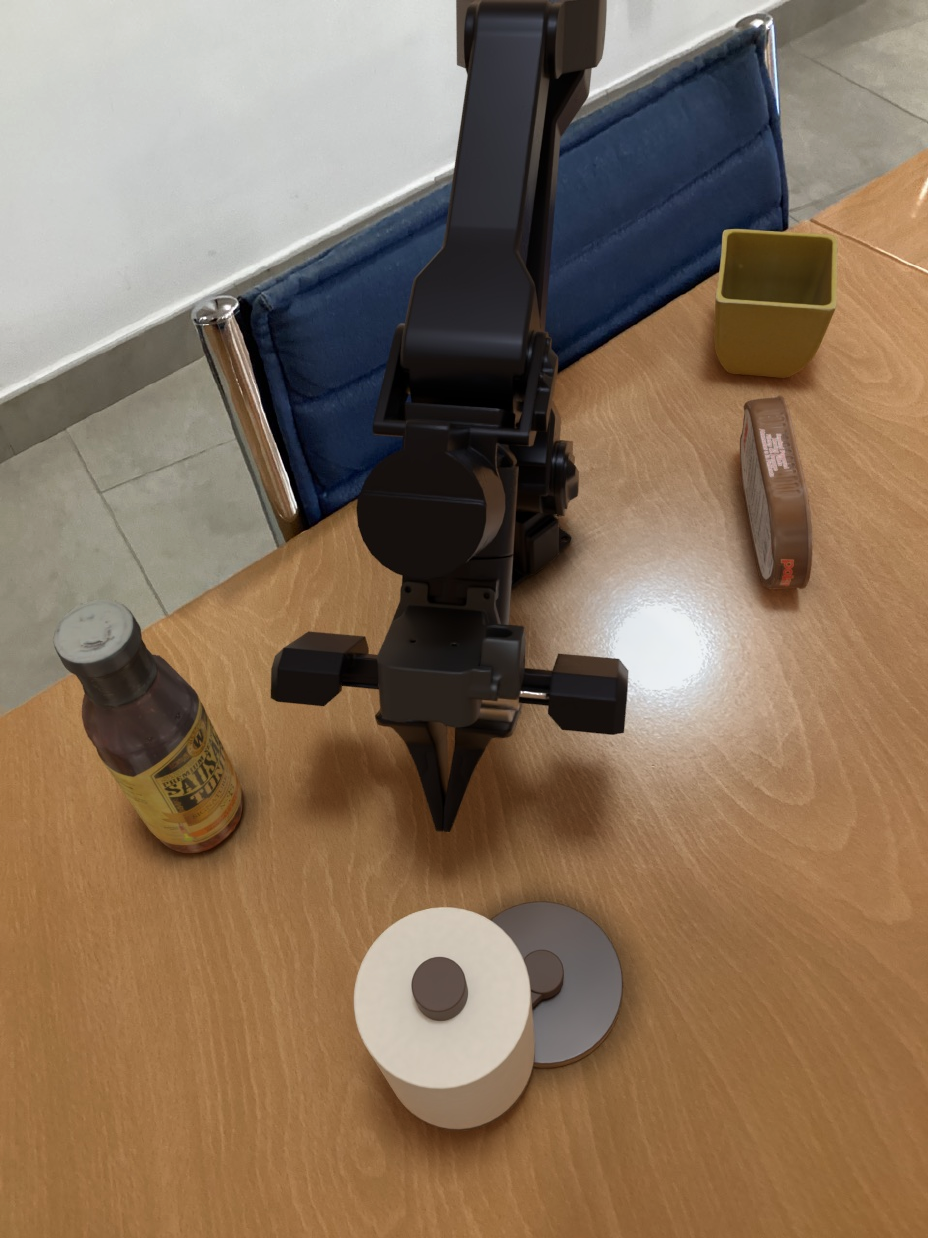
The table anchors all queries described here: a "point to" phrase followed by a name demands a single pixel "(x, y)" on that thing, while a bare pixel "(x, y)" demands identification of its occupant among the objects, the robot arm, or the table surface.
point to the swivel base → (568, 979)
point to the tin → (775, 495)
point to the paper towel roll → (452, 1014)
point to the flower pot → (773, 300)
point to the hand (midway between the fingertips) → (444, 829)
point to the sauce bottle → (149, 729)
